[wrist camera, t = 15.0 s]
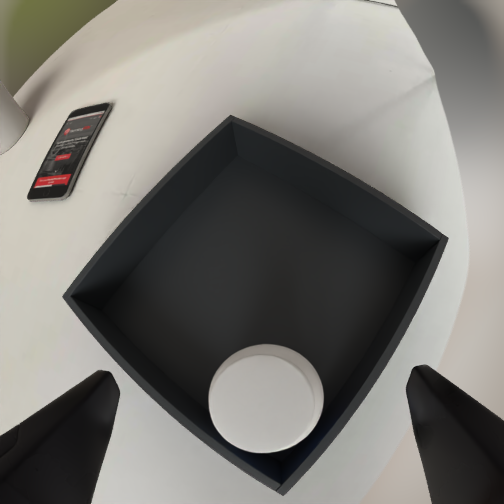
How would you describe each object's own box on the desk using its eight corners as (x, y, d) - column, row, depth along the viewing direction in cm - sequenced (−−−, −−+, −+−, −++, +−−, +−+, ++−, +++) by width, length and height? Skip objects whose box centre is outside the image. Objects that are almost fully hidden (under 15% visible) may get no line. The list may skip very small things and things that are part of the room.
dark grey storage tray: (420, 264, 22) (449, 238, 17) (282, 470, 17) (283, 496, 12) (237, 153, 28) (230, 114, 23) (97, 312, 23) (61, 296, 18)
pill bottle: (326, 381, 19) (365, 388, 10) (278, 442, 17) (277, 495, 8) (262, 337, 20) (249, 309, 11) (215, 396, 19) (165, 413, 10)
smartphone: (25, 200, 28) (72, 110, 33) (28, 202, 28) (74, 113, 34) (64, 197, 27) (111, 101, 32) (68, 200, 28) (114, 105, 33)
